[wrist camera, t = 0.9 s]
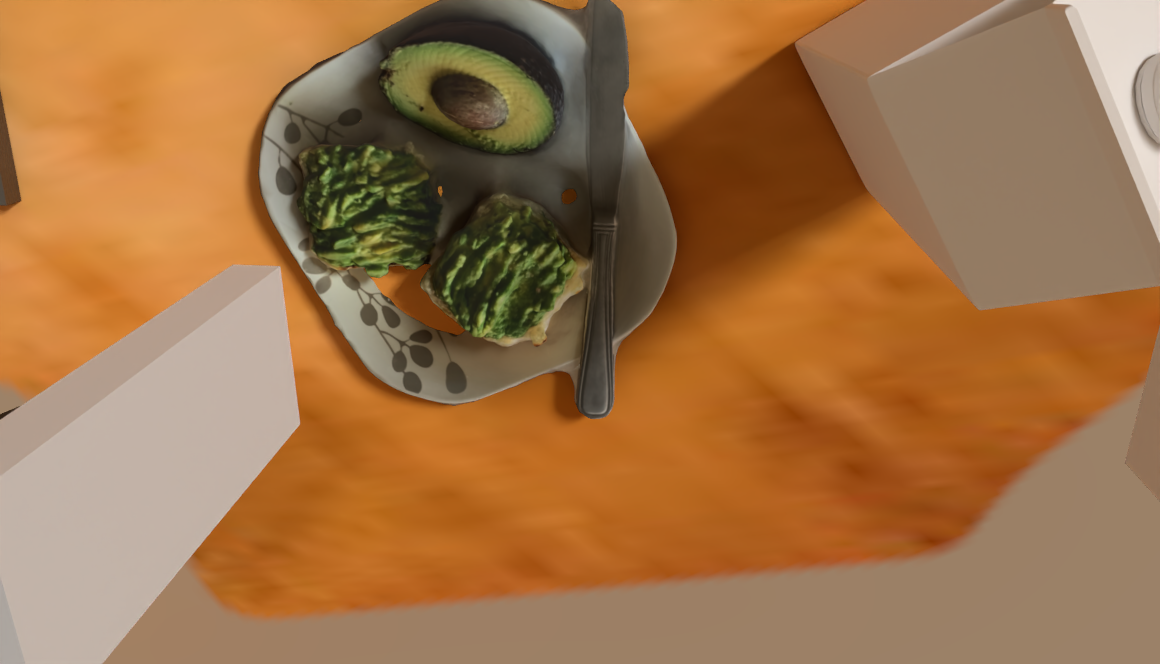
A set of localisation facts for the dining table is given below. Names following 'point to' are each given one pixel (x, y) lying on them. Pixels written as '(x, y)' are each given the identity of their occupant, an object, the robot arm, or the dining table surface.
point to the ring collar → (7, 165)
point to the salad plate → (476, 196)
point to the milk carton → (1006, 136)
